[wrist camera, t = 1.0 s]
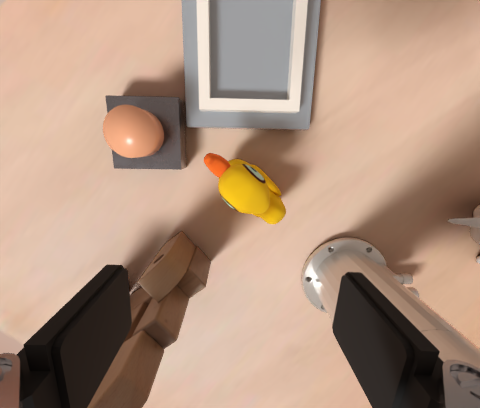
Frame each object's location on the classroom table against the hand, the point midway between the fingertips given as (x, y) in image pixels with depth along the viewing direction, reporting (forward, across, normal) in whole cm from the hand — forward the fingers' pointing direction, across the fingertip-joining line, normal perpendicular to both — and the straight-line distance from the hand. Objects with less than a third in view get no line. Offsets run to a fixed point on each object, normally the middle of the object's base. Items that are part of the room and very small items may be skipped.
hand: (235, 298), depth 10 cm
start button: (+18, +11, -7) cm, 22 cm away
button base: (+22, +10, -7) cm, 26 cm away
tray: (+22, -1, -18) cm, 29 cm away
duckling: (+22, -2, -1) cm, 23 cm away
